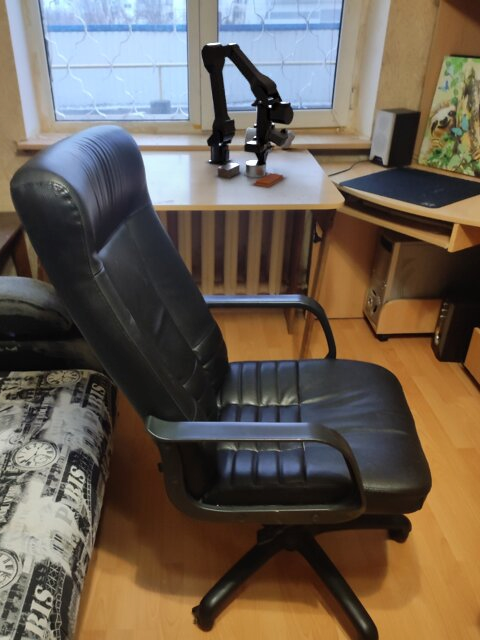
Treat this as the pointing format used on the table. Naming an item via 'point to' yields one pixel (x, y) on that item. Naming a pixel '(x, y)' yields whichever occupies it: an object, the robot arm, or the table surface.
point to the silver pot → (255, 168)
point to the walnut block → (228, 170)
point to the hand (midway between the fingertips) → (262, 166)
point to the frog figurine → (289, 140)
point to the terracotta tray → (268, 180)
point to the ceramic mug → (250, 134)
